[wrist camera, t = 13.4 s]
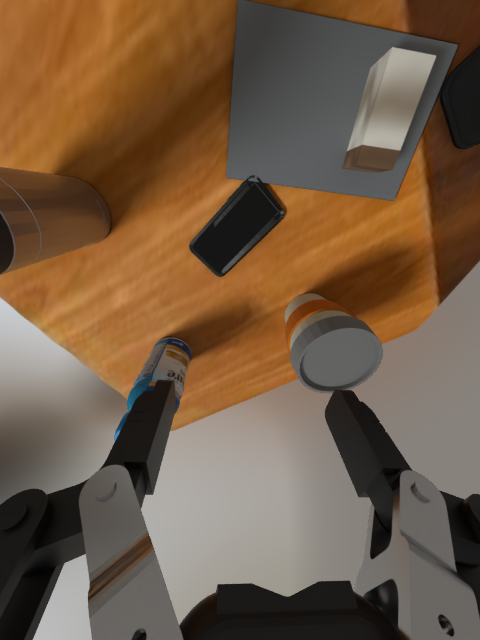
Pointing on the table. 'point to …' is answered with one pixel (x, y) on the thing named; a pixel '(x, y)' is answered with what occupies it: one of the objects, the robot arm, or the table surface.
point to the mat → (314, 99)
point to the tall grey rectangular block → (387, 109)
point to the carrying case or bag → (463, 102)
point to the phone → (237, 227)
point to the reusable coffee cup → (329, 344)
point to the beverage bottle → (161, 371)
